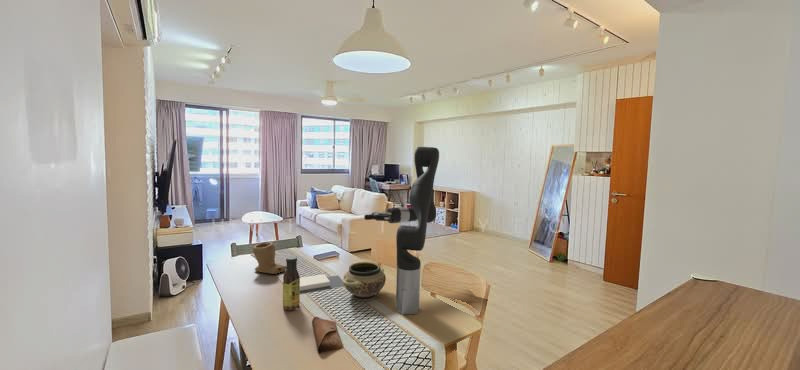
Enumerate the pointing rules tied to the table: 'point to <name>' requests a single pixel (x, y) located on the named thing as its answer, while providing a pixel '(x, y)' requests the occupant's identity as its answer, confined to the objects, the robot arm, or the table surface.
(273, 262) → the tan ankle boot
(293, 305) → the sauce bottle
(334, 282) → the mat
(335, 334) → the sunglasses case
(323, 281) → the tile
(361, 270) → the decorated ceramic pot
